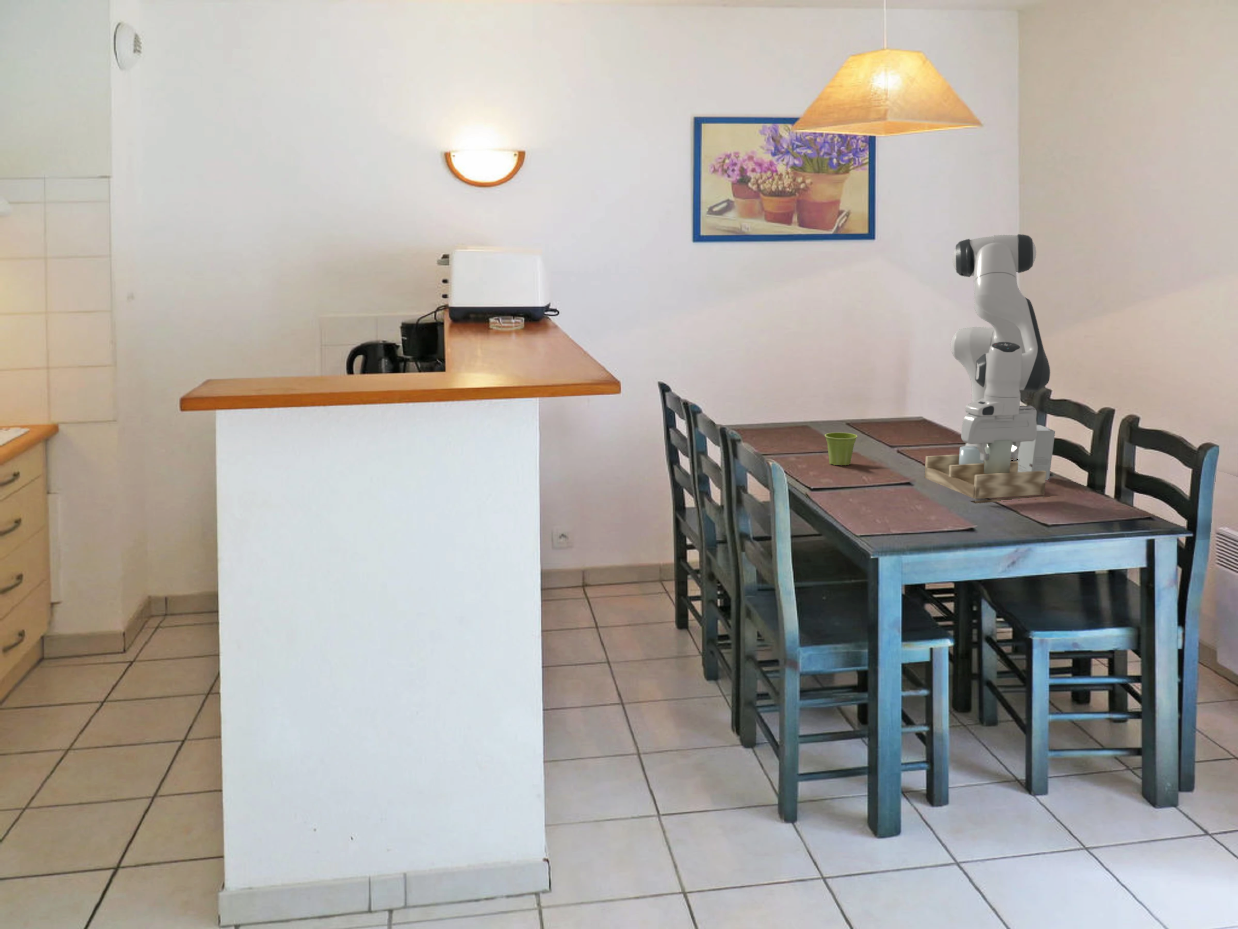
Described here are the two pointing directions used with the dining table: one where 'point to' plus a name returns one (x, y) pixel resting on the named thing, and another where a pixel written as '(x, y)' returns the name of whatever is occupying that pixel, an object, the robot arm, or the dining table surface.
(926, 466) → the rack
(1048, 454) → the skincare box
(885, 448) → the dining table surface
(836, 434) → the plant pot
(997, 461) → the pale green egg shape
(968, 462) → the pale blue-grey rounded dome
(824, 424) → the dining table surface
